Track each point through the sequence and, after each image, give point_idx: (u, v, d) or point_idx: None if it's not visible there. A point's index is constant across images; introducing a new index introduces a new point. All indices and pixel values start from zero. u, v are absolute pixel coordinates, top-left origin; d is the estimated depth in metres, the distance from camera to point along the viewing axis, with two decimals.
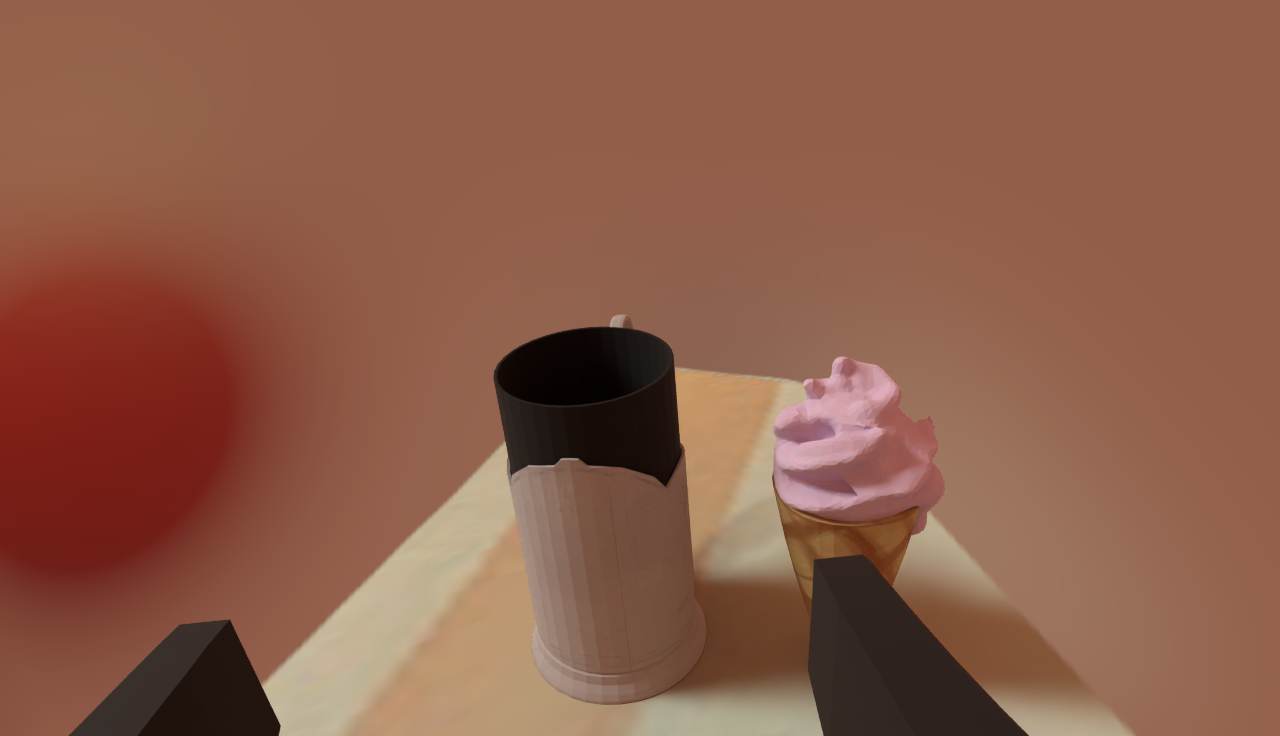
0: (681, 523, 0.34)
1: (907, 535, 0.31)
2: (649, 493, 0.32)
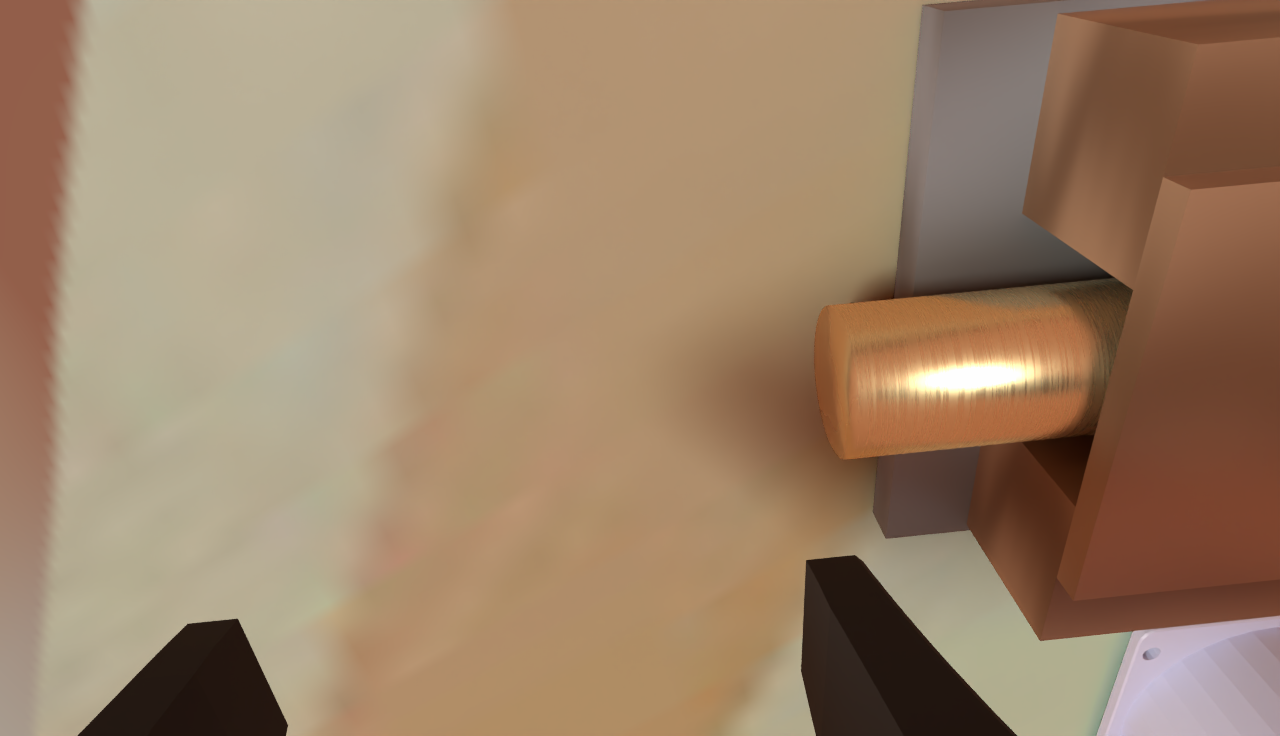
0: None
1: None
2: None
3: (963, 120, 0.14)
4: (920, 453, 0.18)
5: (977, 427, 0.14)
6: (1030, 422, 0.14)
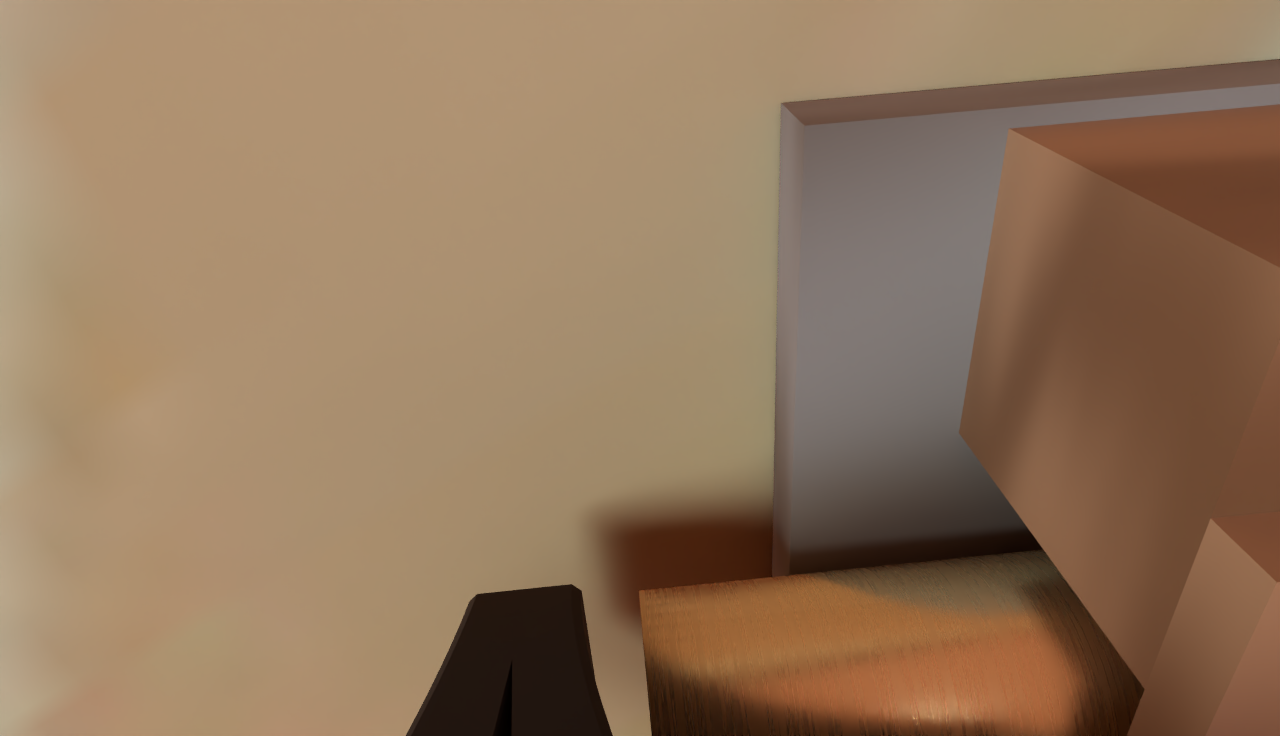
0: None
1: None
2: None
3: (852, 299, 0.08)
4: None
5: None
6: None
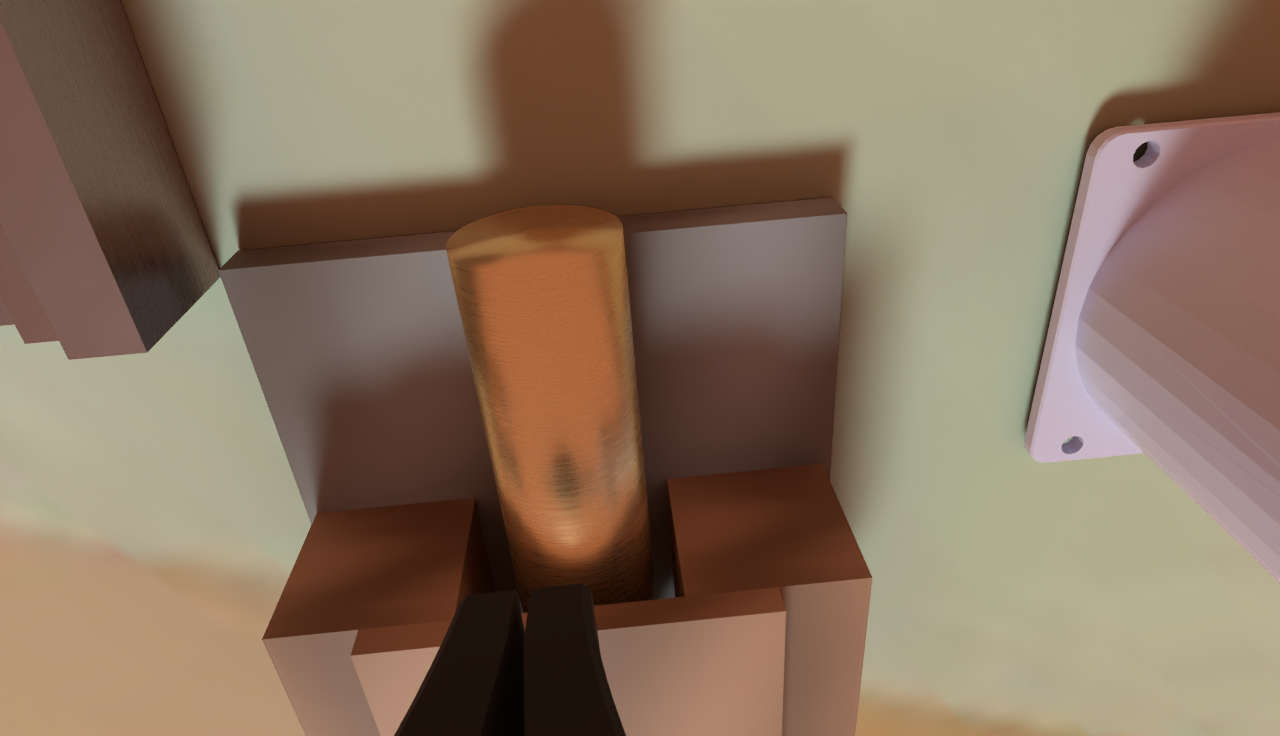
0: None
1: None
2: None
3: None
4: None
5: None
6: None
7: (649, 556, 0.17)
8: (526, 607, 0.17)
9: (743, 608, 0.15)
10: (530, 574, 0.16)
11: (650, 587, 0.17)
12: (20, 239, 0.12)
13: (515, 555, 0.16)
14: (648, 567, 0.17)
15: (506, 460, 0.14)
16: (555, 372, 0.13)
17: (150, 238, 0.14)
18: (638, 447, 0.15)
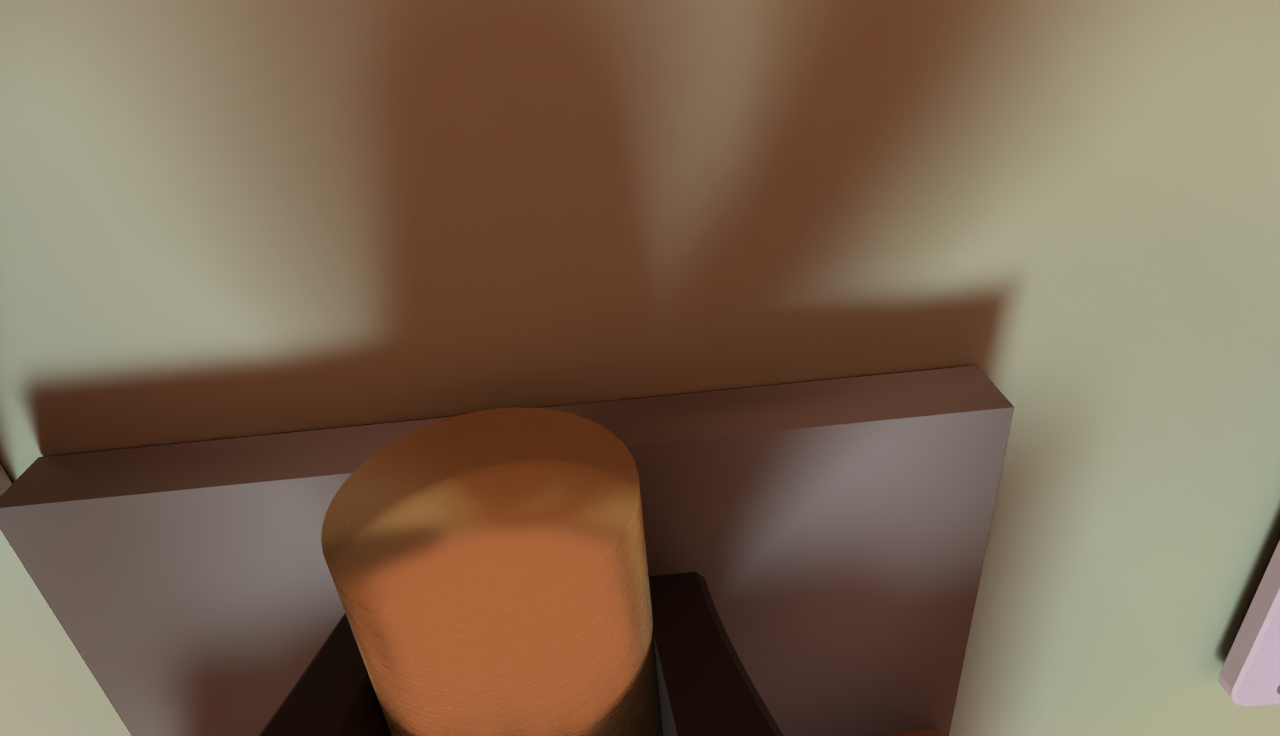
0: None
1: None
2: None
3: None
4: None
5: None
6: None
7: None
8: None
9: None
10: None
11: None
12: None
13: None
14: None
15: None
16: None
17: None
18: None
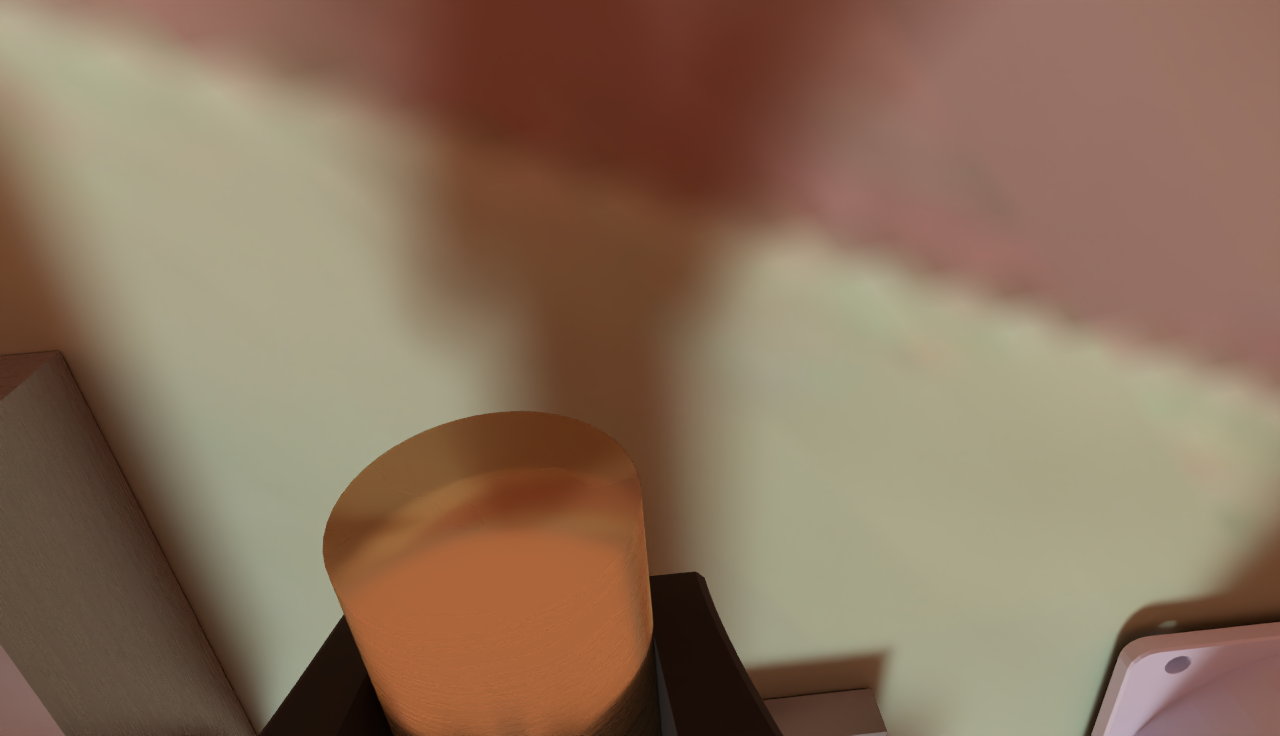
0: None
1: None
2: None
3: None
4: None
5: None
6: None
7: None
8: None
9: None
10: None
11: None
12: None
13: None
14: None
15: None
16: None
17: None
18: None
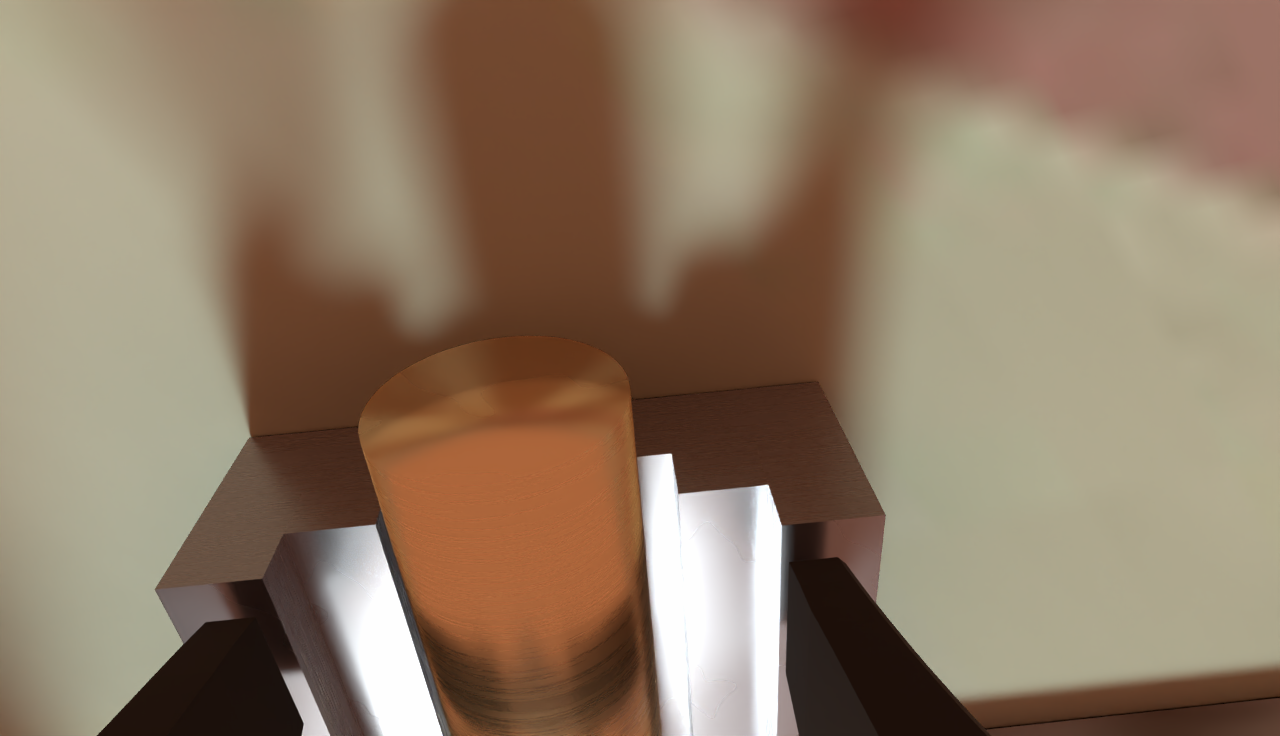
0: None
1: None
2: None
3: None
4: None
5: None
6: None
7: None
8: None
9: None
10: None
11: None
12: None
13: None
14: None
15: (448, 705, 0.10)
16: (508, 621, 0.09)
17: None
18: (646, 688, 0.10)
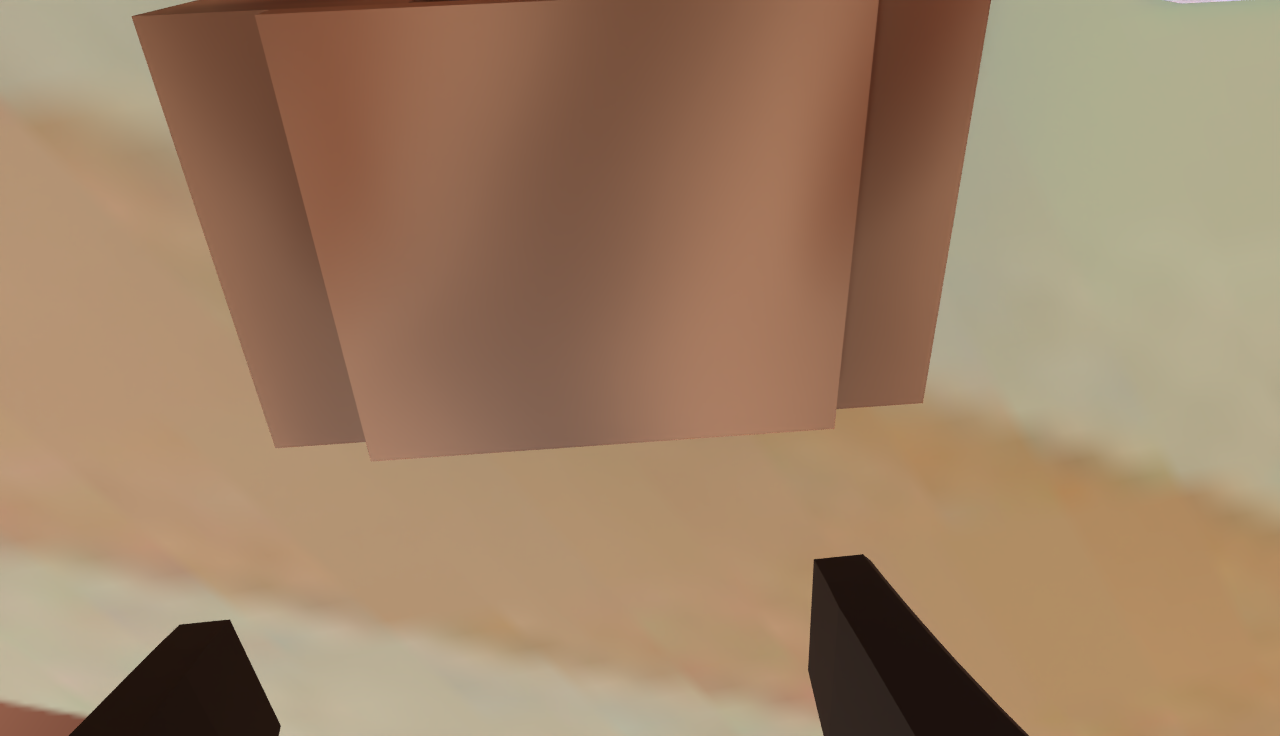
0: None
1: None
2: None
3: None
4: None
5: None
6: None
7: None
8: None
9: None
10: None
11: None
12: None
13: None
14: None
15: None
16: None
17: None
18: None
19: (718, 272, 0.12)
